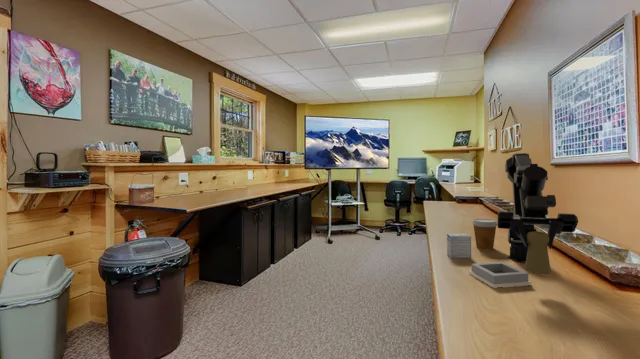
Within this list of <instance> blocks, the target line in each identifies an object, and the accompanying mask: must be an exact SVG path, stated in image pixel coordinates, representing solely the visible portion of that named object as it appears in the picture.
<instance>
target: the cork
mask: <svg viewBox="0 0 640 359" xmlns="http://www.w3.org/2000/svg"><path fill="white" fill-rule="evenodd" d="M527 241H528V242H529V246H528V252H527V258H526V262H525V266H524V271H525V272H527V273H530V274H535V275H543V276H545V275H551V274H552V270H551V263H550V257H549V251H548V250H549V248H548V243H549V236H548V233H547V232H543V231H538V230H536V231H532V232H529V233H528V234H527Z"/></svg>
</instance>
